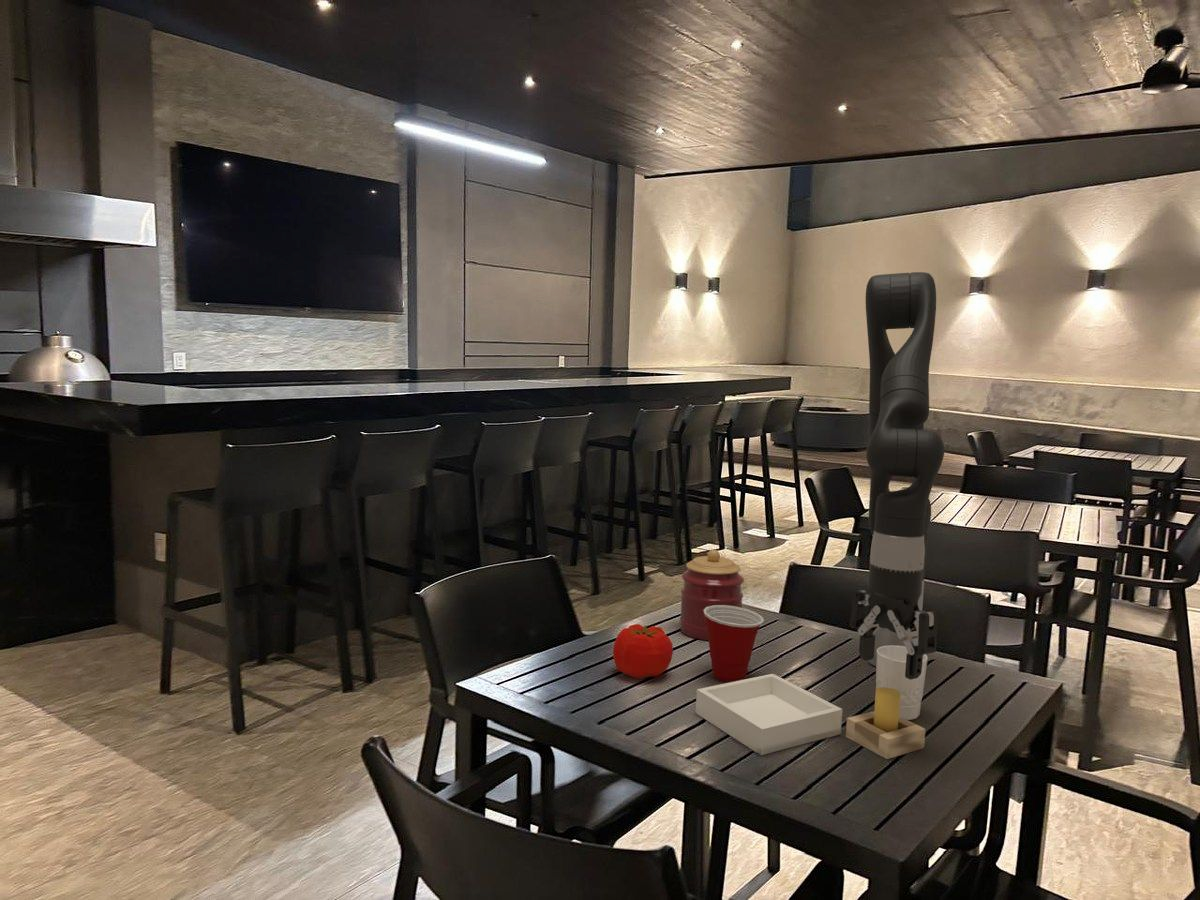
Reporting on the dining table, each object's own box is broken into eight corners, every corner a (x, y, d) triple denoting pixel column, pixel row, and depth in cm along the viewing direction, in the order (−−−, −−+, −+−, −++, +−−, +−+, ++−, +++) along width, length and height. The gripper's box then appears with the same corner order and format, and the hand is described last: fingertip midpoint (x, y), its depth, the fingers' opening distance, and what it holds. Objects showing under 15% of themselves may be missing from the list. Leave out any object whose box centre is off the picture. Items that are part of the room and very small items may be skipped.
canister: (725, 646, 166) (729, 560, 164) (668, 633, 173) (671, 550, 171) (750, 630, 177) (755, 549, 175) (696, 618, 184) (699, 540, 182)
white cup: (899, 725, 132) (903, 665, 131) (862, 706, 139) (866, 649, 138) (933, 717, 136) (938, 658, 134) (896, 699, 143) (900, 642, 141)
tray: (771, 696, 142) (772, 673, 142) (840, 734, 128) (842, 709, 128) (695, 713, 134) (696, 689, 134) (760, 755, 120) (762, 729, 120)
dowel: (883, 735, 128) (886, 685, 127) (901, 744, 125) (905, 694, 124) (867, 740, 126) (870, 689, 126) (885, 749, 123) (889, 698, 123)
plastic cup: (760, 691, 144) (764, 624, 142) (697, 684, 146) (701, 618, 145) (761, 669, 154) (764, 606, 153) (702, 663, 156) (705, 601, 155)
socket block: (882, 726, 131) (883, 708, 131) (924, 748, 124) (925, 728, 124) (845, 736, 127) (846, 718, 127) (886, 759, 120) (888, 739, 120)
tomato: (681, 682, 147) (683, 634, 146) (623, 688, 143) (625, 639, 142) (657, 661, 157) (659, 616, 156) (603, 666, 153) (604, 621, 152)
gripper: (954, 571, 118) (945, 681, 120) (877, 550, 131) (869, 650, 132) (918, 576, 115) (909, 689, 116) (842, 554, 127) (835, 656, 129)
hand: (888, 668), depth 124 cm, fingers open, 8 cm apart
